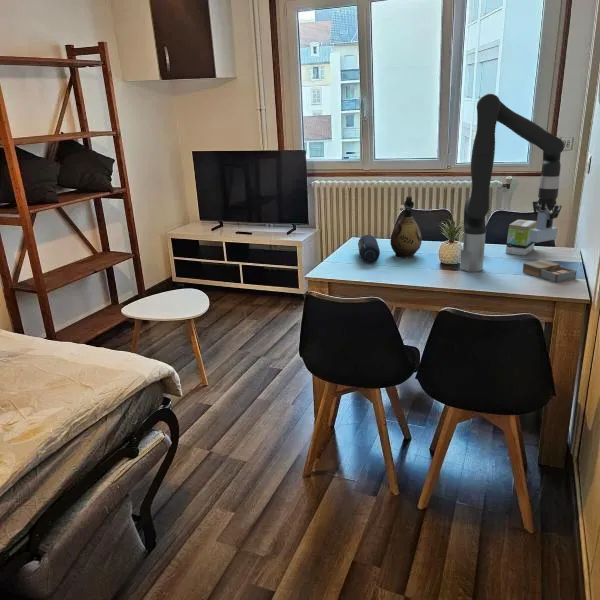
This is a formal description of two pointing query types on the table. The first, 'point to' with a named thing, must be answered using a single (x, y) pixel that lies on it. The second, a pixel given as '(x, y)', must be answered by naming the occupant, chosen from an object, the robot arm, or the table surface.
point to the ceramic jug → (406, 233)
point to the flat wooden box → (539, 267)
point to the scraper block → (543, 230)
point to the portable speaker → (368, 249)
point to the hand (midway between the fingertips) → (544, 226)
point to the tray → (558, 275)
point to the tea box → (520, 237)
